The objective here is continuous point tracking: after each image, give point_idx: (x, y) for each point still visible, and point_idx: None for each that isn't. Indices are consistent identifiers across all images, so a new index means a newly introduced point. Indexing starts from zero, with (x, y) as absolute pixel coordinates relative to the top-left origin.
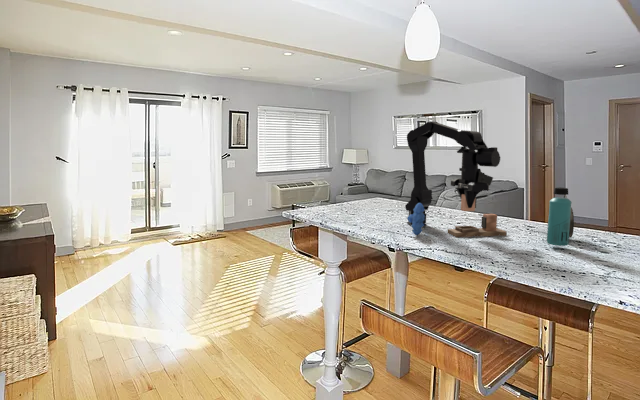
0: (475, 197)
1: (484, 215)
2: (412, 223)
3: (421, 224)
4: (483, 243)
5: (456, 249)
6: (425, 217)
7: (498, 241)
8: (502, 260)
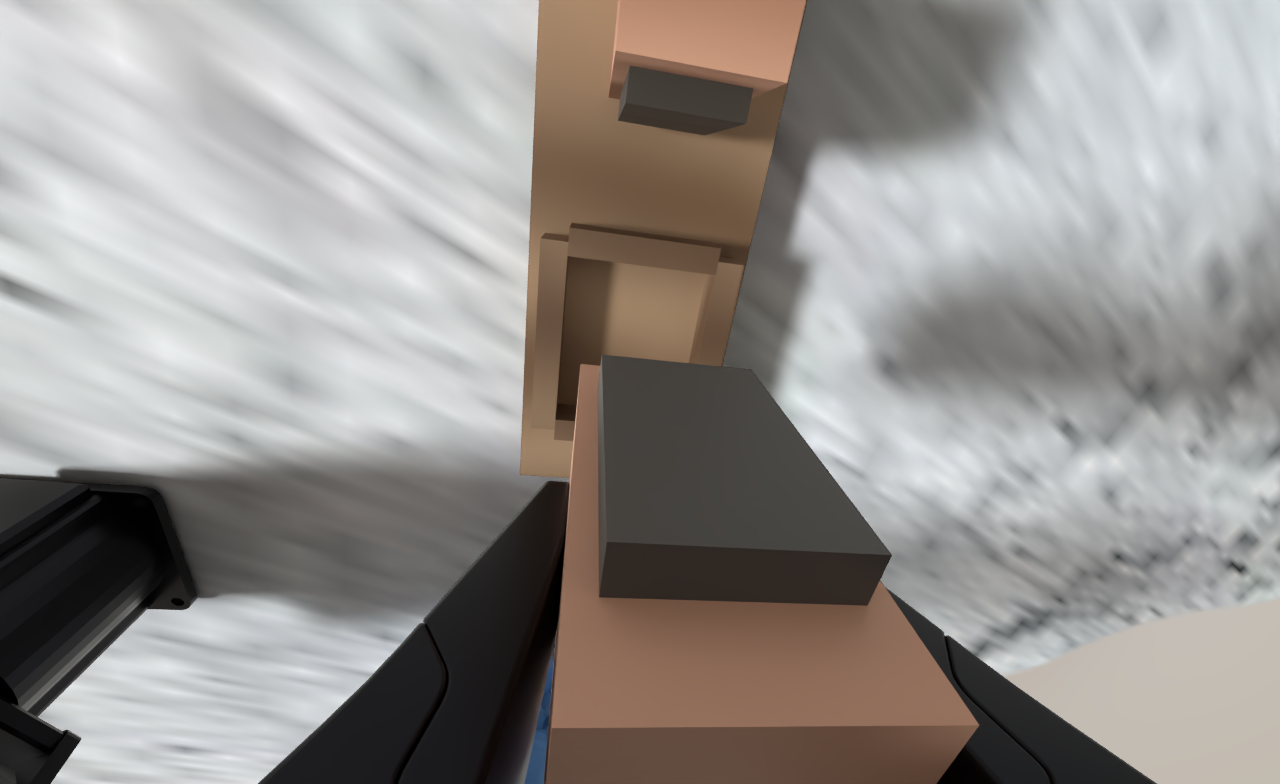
0: (1039, 703)
1: (675, 66)
2: (143, 600)
3: (539, 712)
4: (952, 379)
5: (962, 601)
6: (19, 538)
7: (977, 202)
8: (1261, 505)
